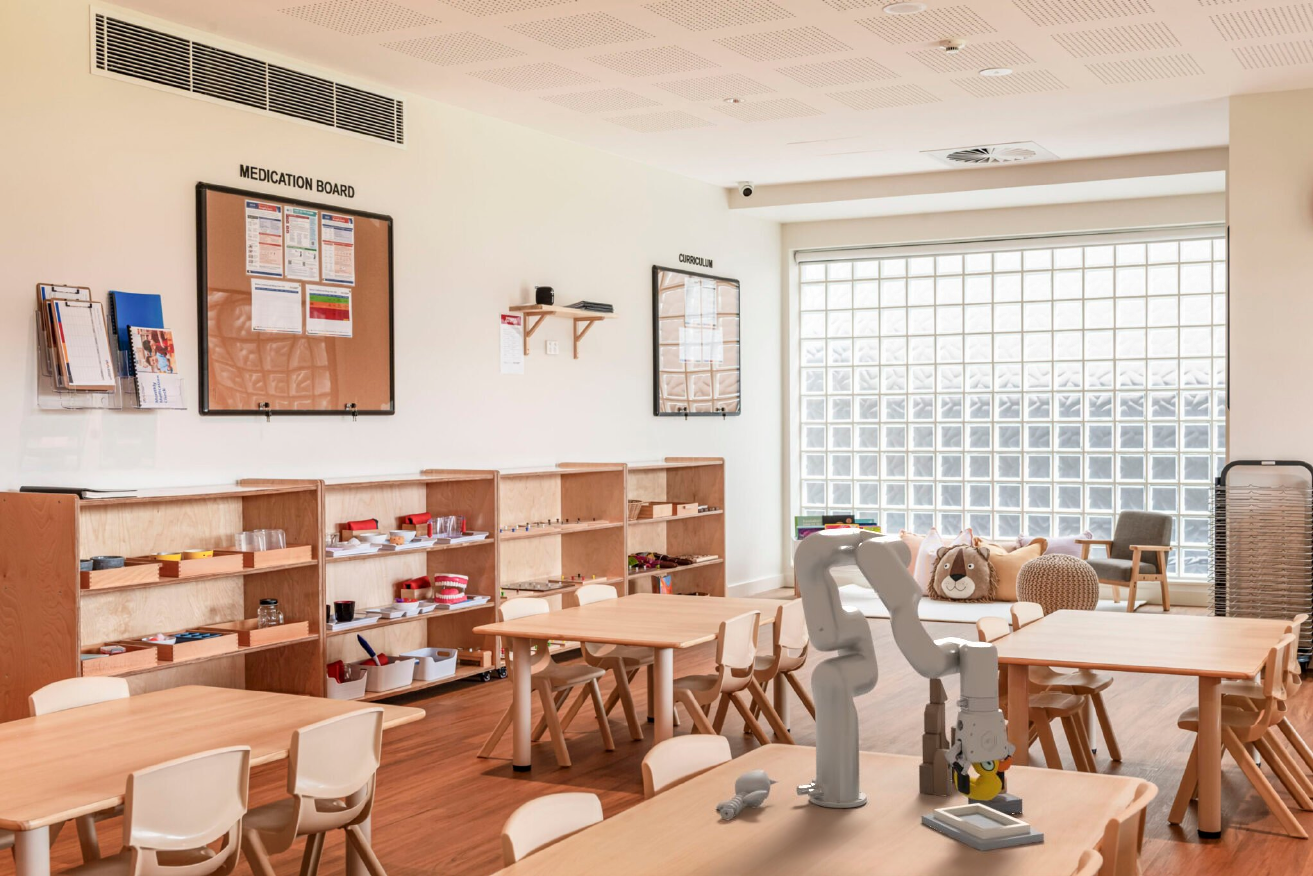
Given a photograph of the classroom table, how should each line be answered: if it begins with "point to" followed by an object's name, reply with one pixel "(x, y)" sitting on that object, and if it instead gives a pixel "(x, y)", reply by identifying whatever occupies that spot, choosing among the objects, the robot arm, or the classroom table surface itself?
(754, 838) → the classroom table surface
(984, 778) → the duckling
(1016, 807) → the button base
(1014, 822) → the tray
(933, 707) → the wooden toy
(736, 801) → the toy creature
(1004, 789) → the button
